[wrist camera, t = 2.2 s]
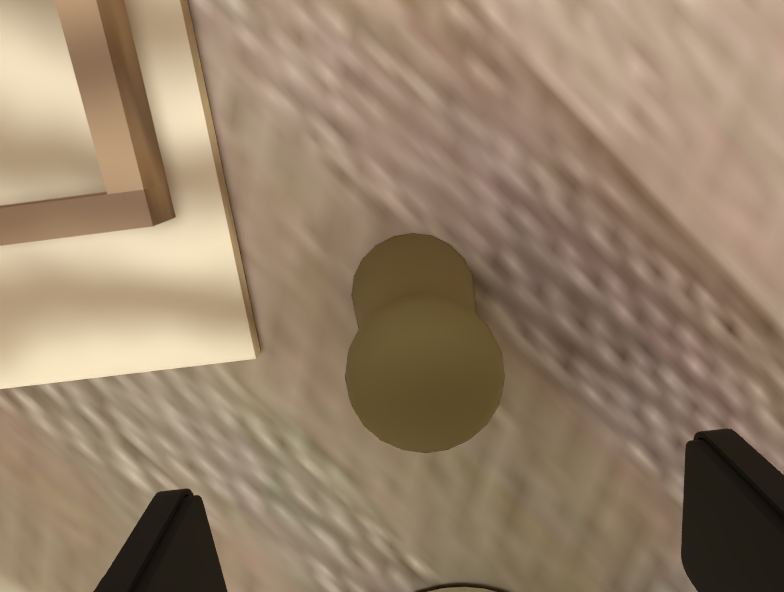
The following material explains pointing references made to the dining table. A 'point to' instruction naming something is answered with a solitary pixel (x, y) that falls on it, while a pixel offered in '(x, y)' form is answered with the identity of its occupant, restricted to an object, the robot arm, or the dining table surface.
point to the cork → (421, 347)
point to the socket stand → (112, 197)
